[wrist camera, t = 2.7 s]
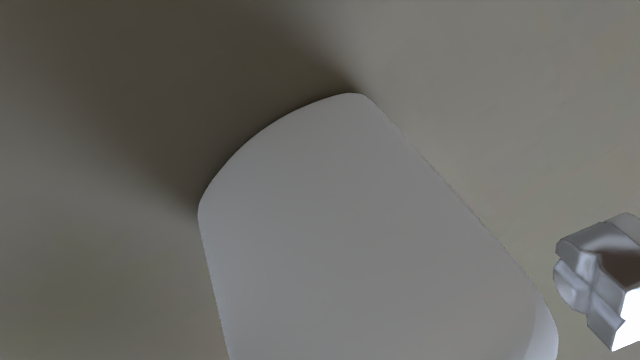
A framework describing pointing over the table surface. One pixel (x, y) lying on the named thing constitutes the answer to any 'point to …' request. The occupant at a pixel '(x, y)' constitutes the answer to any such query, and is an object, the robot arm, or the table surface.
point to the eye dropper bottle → (358, 250)
